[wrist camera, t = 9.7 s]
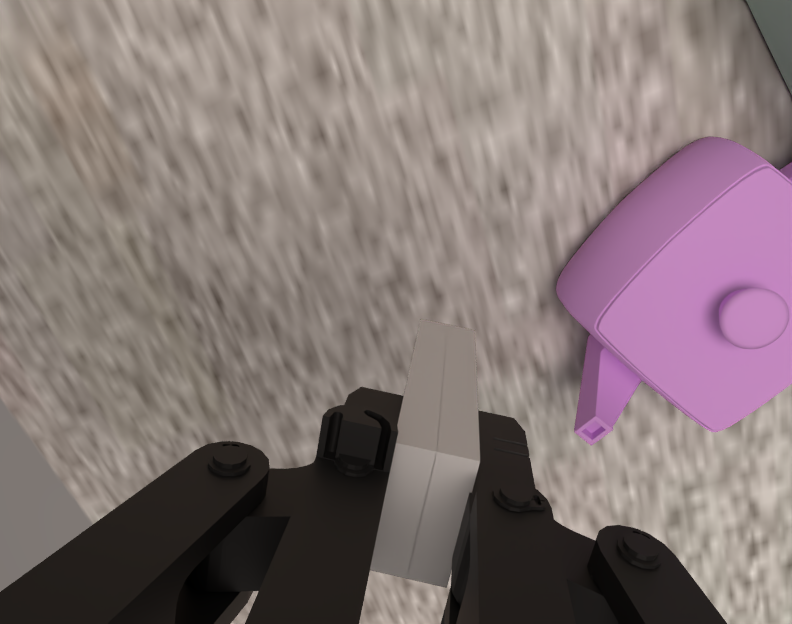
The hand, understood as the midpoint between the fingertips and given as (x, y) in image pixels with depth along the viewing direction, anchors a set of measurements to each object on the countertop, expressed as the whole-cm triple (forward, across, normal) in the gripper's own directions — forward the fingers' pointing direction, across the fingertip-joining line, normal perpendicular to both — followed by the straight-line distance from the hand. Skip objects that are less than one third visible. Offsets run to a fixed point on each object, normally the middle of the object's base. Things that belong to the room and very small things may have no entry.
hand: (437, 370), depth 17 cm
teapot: (+20, +13, 0) cm, 24 cm away
